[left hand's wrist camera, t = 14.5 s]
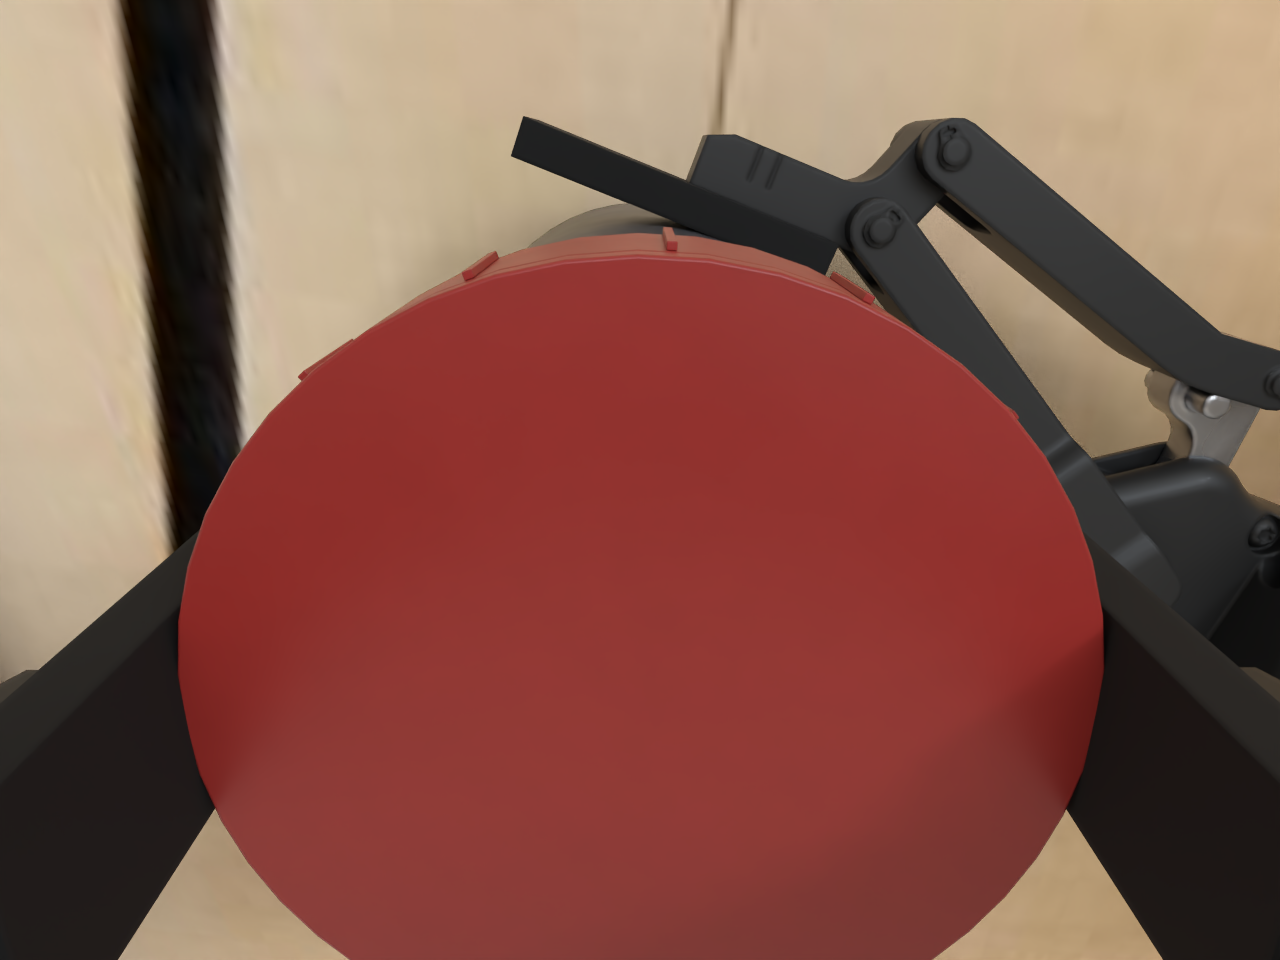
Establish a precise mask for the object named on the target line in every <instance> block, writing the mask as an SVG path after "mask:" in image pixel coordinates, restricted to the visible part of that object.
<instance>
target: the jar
mask: <svg viewBox="0 0 1280 960" xmlns="http://www.w3.org/2000/svg"><path fill="white" fill-rule="evenodd" d="M663 227H671V228H672V229H673V232H674V234H675V235H680V236H696V237H701V238H706V239H711V240H716V241H721V240H718V239H716V238H714V237H711V236H709V235H706V234H704V233H701V232H699V231H696V230H694V229H691V228H689V227H686V226H684V225H681V224H679V223H676V222H674V221H671V220H669V219H666V218H664V217H661V216H659V215H656V214H654V213H651V212H649V211H646V210H644V209H641V208H639V207H636V206H634V205H631V204H618V205H611V206H607V207H603V208H598V209H594V210H591V211H588V212H585V213H583V214H580V215H578V216H575V217H573V218H570V219H568V220H567V221H565V222H563V223H561V224H559V225H558V226H556V227H554V228H552V229H551V230H549V231H548V232H547V233H545V234H544V235H543V236H541V237H540V238H539V239H537V240H536V241H535V242H533V243H532V244H531V245H530V246H529V247H528V248H532V247H537V246H541V245H546V244H551V243H555V242H560V241H565V240H569V239H574V238H579V237H591V236H604V235H617V234H631V233H646V234H663ZM721 242H724V241H721ZM726 243H727V242H726Z"/></svg>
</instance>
